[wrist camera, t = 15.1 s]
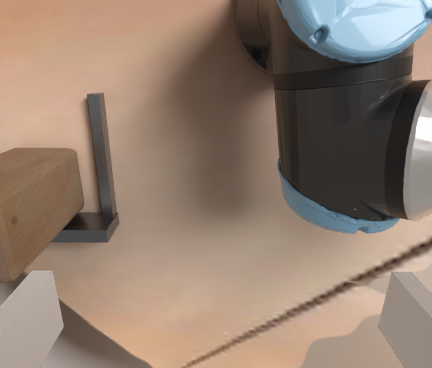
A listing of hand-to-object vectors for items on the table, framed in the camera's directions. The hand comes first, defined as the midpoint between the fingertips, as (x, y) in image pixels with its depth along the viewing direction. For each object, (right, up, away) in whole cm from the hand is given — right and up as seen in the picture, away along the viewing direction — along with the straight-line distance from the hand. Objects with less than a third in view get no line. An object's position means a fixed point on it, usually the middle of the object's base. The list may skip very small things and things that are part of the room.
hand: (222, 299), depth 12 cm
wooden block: (-26, +6, +37) cm, 46 cm away
